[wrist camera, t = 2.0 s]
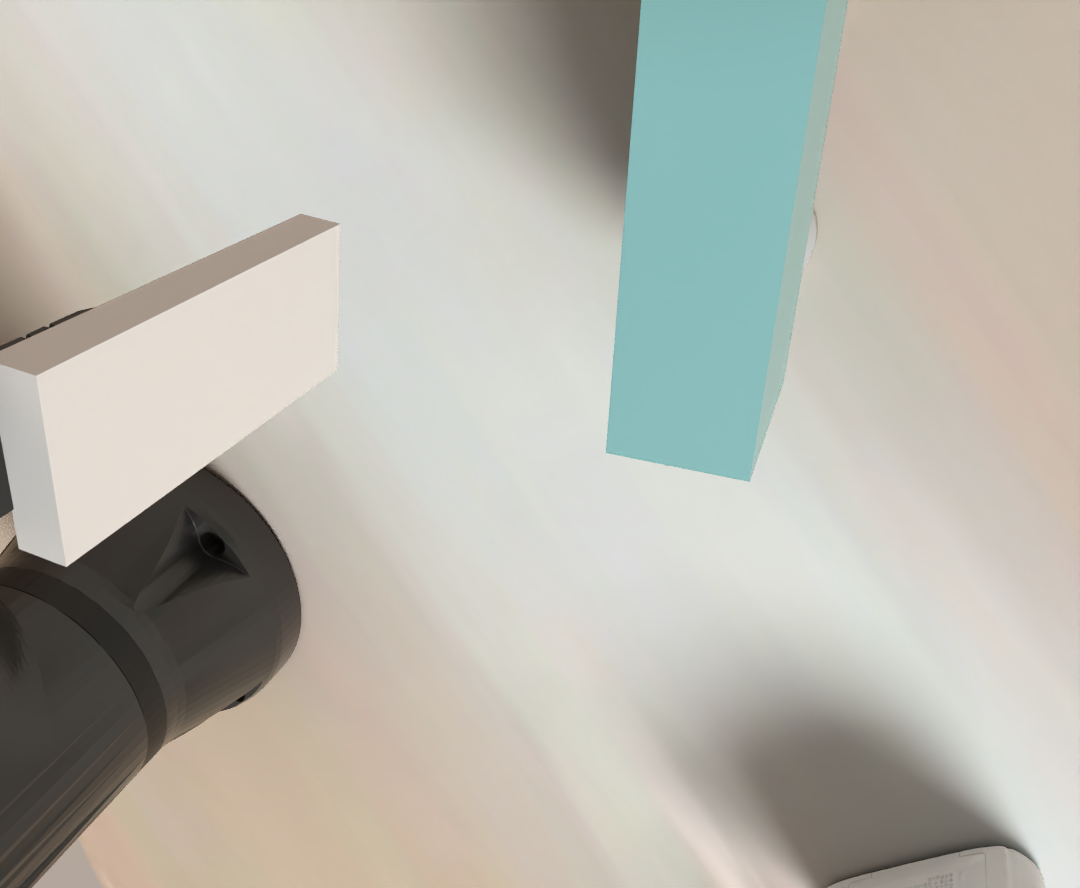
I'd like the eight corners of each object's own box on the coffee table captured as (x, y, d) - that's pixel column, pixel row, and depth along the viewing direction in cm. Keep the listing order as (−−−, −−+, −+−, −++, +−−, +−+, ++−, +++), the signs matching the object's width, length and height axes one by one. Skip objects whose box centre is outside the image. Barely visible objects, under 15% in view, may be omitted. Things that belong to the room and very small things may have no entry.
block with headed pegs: (692, 314, 37) (606, 452, 28) (751, -189, 30) (660, -241, 20) (800, 330, 36) (749, 481, 27) (890, -187, 29) (864, -241, 19)
